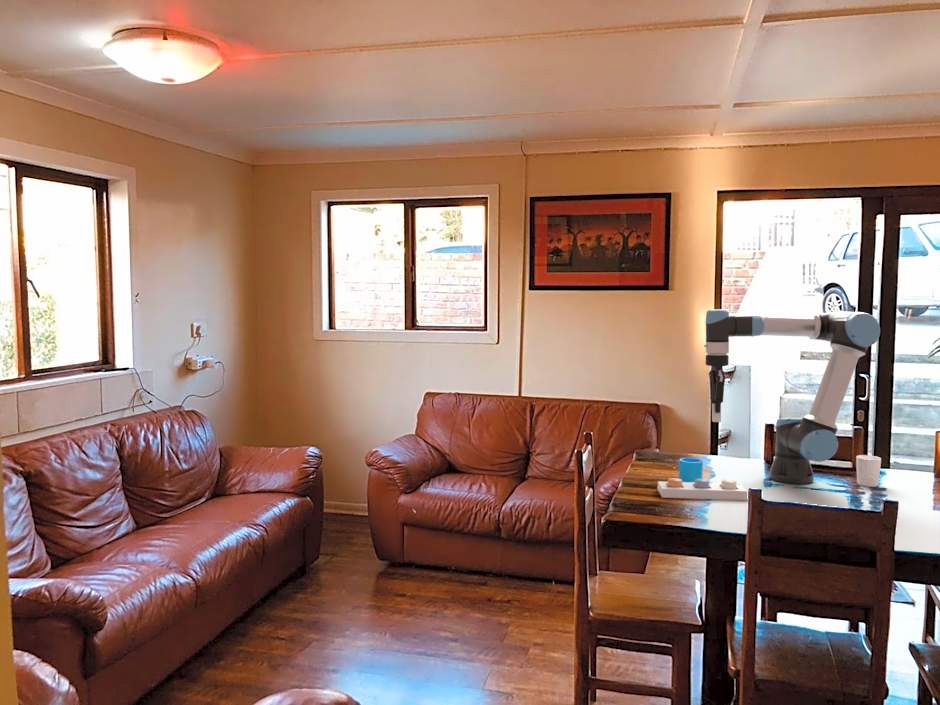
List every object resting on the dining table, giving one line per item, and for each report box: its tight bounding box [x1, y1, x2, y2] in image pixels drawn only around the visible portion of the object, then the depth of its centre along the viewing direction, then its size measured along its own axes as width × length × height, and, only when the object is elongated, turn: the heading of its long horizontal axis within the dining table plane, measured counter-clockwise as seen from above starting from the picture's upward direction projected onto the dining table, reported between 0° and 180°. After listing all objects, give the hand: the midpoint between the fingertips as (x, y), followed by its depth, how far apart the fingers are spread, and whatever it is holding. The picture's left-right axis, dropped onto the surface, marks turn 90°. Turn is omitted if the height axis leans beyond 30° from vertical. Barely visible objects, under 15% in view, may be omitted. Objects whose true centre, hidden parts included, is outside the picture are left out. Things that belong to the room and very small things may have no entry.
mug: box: [678, 457, 704, 482], centre depth 270 cm, size 12×8×8 cm
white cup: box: [855, 454, 882, 488], centre depth 265 cm, size 8×8×10 cm
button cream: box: [721, 479, 738, 489], centre depth 250 cm, size 5×5×4 cm
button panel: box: [657, 480, 748, 501], centre depth 251 cm, size 28×10×3 cm, turn 84°
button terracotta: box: [667, 477, 682, 488], centre depth 252 cm, size 5×5×4 cm
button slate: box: [694, 478, 710, 488], centre depth 251 cm, size 5×5×4 cm
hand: (716, 421), depth 255 cm, fingers closed
